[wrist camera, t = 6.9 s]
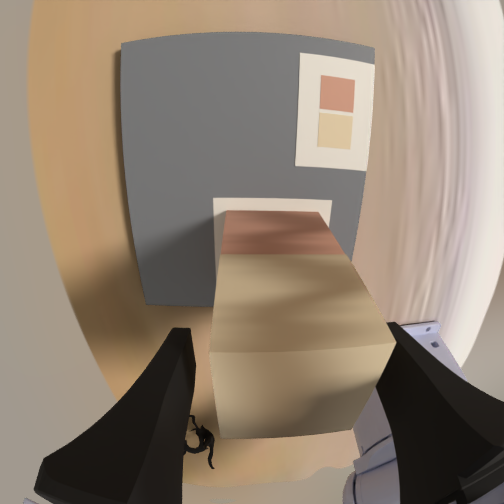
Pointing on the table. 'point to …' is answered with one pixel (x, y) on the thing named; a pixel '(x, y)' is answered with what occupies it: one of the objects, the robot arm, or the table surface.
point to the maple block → (293, 345)
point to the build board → (237, 144)
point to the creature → (201, 441)
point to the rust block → (277, 233)
